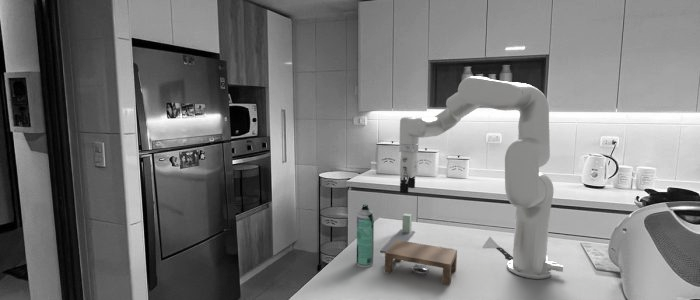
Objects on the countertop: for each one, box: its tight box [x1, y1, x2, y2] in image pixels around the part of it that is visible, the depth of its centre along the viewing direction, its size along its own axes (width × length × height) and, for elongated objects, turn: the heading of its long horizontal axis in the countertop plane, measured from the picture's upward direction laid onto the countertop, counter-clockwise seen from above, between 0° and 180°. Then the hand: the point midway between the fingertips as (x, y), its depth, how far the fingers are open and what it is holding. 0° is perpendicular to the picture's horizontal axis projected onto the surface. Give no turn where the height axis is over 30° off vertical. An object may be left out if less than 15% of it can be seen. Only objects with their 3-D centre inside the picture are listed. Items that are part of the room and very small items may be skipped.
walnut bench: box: [384, 240, 458, 286], centre depth 118 cm, size 20×12×6 cm, turn 65°
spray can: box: [356, 204, 375, 268], centre depth 122 cm, size 6×6×20 cm
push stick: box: [379, 213, 416, 254], centre depth 143 cm, size 6×25×8 cm, turn 155°
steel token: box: [412, 264, 430, 276], centre depth 119 cm, size 5×5×1 cm
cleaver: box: [482, 236, 513, 261], centre depth 141 cm, size 29×1×10 cm
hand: (407, 190), depth 151 cm, fingers open, 9 cm apart
